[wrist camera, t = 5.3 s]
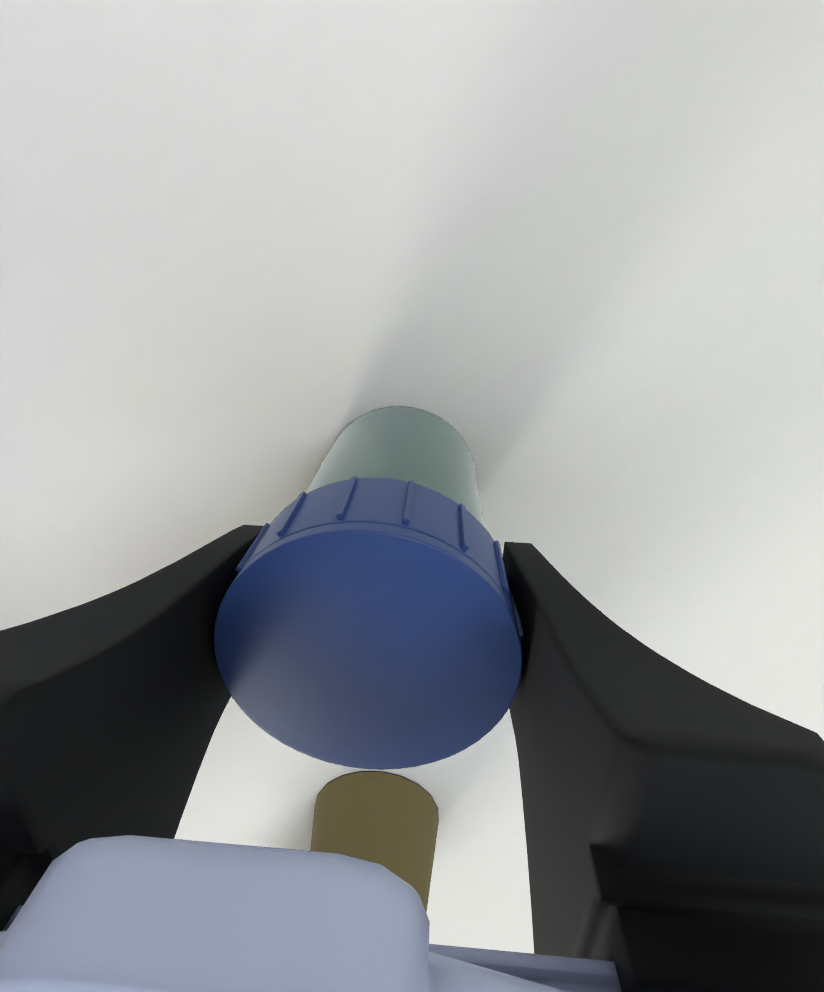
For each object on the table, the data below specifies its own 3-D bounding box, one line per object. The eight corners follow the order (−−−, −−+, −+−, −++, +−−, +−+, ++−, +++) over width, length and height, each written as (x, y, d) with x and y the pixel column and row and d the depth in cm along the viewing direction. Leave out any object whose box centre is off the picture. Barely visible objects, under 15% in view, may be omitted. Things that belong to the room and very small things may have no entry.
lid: (375, 722, 13) (362, 807, 11) (200, 578, 11) (148, 647, 9) (562, 607, 11) (589, 684, 9) (385, 417, 9) (370, 459, 7)
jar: (296, 475, 17) (190, 633, 10) (401, 372, 15) (366, 473, 8) (399, 567, 18) (373, 767, 11) (506, 482, 17) (556, 651, 10)
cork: (398, 756, 23) (364, 1144, 13) (461, 832, 25) (474, 1217, 15) (290, 794, 24) (184, 1167, 14) (358, 863, 26) (307, 1230, 16)
